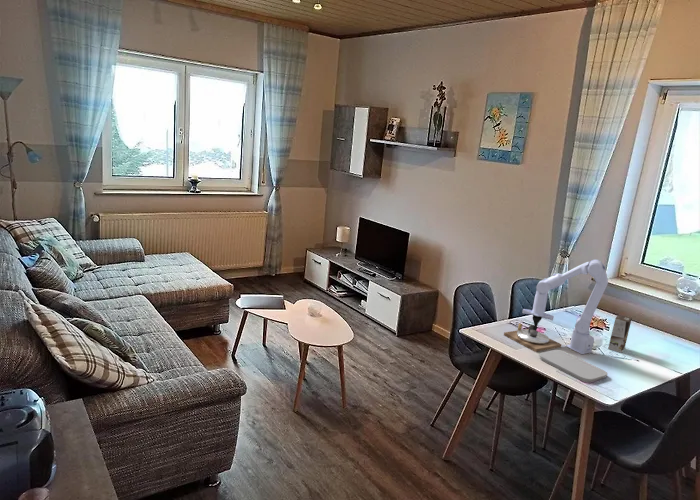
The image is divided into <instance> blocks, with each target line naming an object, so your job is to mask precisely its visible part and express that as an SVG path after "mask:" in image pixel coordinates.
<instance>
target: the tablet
mask: <svg viewBox="0 0 700 500" xmlns="http://www.w3.org/2000/svg"><path fill="white" fill-rule="evenodd" d="M538 357H539V359H540V361H542V362H544V363H547V364H548V365H550V366H553V367H555V368H557V369H559V370H560V371H561V372H563V373H566V374H567V375H569V376H571V377H574V378H575V379H577V380H579V381H582V382H583V383H592V382H596V381H598V380H599V381H600V380H603V379H605V378H606V377H607V376H608V371H606V370H603V369H602V368H601V367H597V366H595V365H593V364H591V363H589V362H587V361H585V360H583V359H580V358H579V357H577V356H575V355H572V354H570V353H567V352H566V351H564V350H561V349H550V350H546V351H544V352H543V351H542V352H540V353H539V354H538Z"/></svg>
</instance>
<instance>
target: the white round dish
mask: <svg viewBox="0 0 700 500" xmlns="http://www.w3.org/2000/svg"><path fill="white" fill-rule="evenodd" d="M526 329H527V328H525V329H521V330H518V329H517V330H518V331H517V330H516V331H517V336H518V337H519V338H520V339H522V340H524V341H527V342H530V343H534V344H547V343H548V342H549V339H550V337H549V336H548V335H546V334H545V333H542V332H540V331H538V333H537V336H531V335H529V333H530V330H534V324H530V323H529V326H528V329H529V330H526Z"/></svg>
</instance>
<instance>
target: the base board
mask: <svg viewBox="0 0 700 500" xmlns="http://www.w3.org/2000/svg"><path fill="white" fill-rule="evenodd" d="M522 327H523V323H518V327H517V330H513V331H505V332H503V336H504V337H507V338H508V339H509V340H512V341H514V342H516V343H517V344H520V345H522V346H523V347H525V348H527V349H528V350H531V351H533V352H534V353H537V352H541V351H542V352H543V351H544V352H545V351H550V350H555V349H559V348H561V347H562V343H560V342H557V341H555V339H554V340H553V339H551V338H549V342H548V343H547V344H534V343H530V342H527V341H524V340H522V339H520V338H519V337H518V336H517V331H518V330H522ZM525 329H526V330H529V328H525ZM538 332H539V331H538V330H530V333H529V335H531V336H537V333H538Z"/></svg>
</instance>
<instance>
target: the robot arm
mask: <svg viewBox="0 0 700 500" xmlns="http://www.w3.org/2000/svg"><path fill="white" fill-rule="evenodd" d="M588 274H589V275H590V276H591V277H592V278H593V280H594V281H595V285H594V287H593V289H592V292H591V294H590V296H589V297H588V300H587V301H586V305H585V306H584V307H583V311H582V313H581V314H580V315H579V316H578V317H577V318H576V319H575V320H576V321H575V324H574V327H573V330H572V333H571V338H570V342H569V344H566V345H565V347H566V348H569V349H571V350H573V351H575V352H576V353H578V354H581V355H586V354H590V353H593V351H592V350H593V348H594V347H593V346H594V343H595V339H594V336H592V335H591V333H590V326H591V322H592V319H593V316H594V314H595V312H596V310H597V307H598V306H599V303H600V301H601V299H602V297H603V295H604V293H605V290H606V288H607V286H608V284H609V278H608V274H607V270H606V266H605V265H604V263H603V262H602V261H601V260H600V259H592V260H590V261H586V262H583V263H582V264H579V265H577V266H575V267H573V268H572V269H570V270H568V271H566V272H564V273H555V272H554V273H553V274H552V276H549V277H547V278H546V277H545V278H543V279H542V280H539V282H538V283H537V284H536V287H535V289H536V291H535V295H534V298H533V299H534V300H533V305H532V309H527V308H523V309H522V314H524V315H525V314H526V315H530V316H532V321H533V325H534V330H536V331H538V325H539V323H540V321H541V320H542V319H546V320H550V321H553V320H554V315H551V314H549V313H545V312H546V308H547V301H548V294H549V290H554V289H556V288H559V287H561V286H563V285H564V284H565V282H566V280H569V279H571V278H574V277H576V276H579V275H588Z"/></svg>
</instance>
